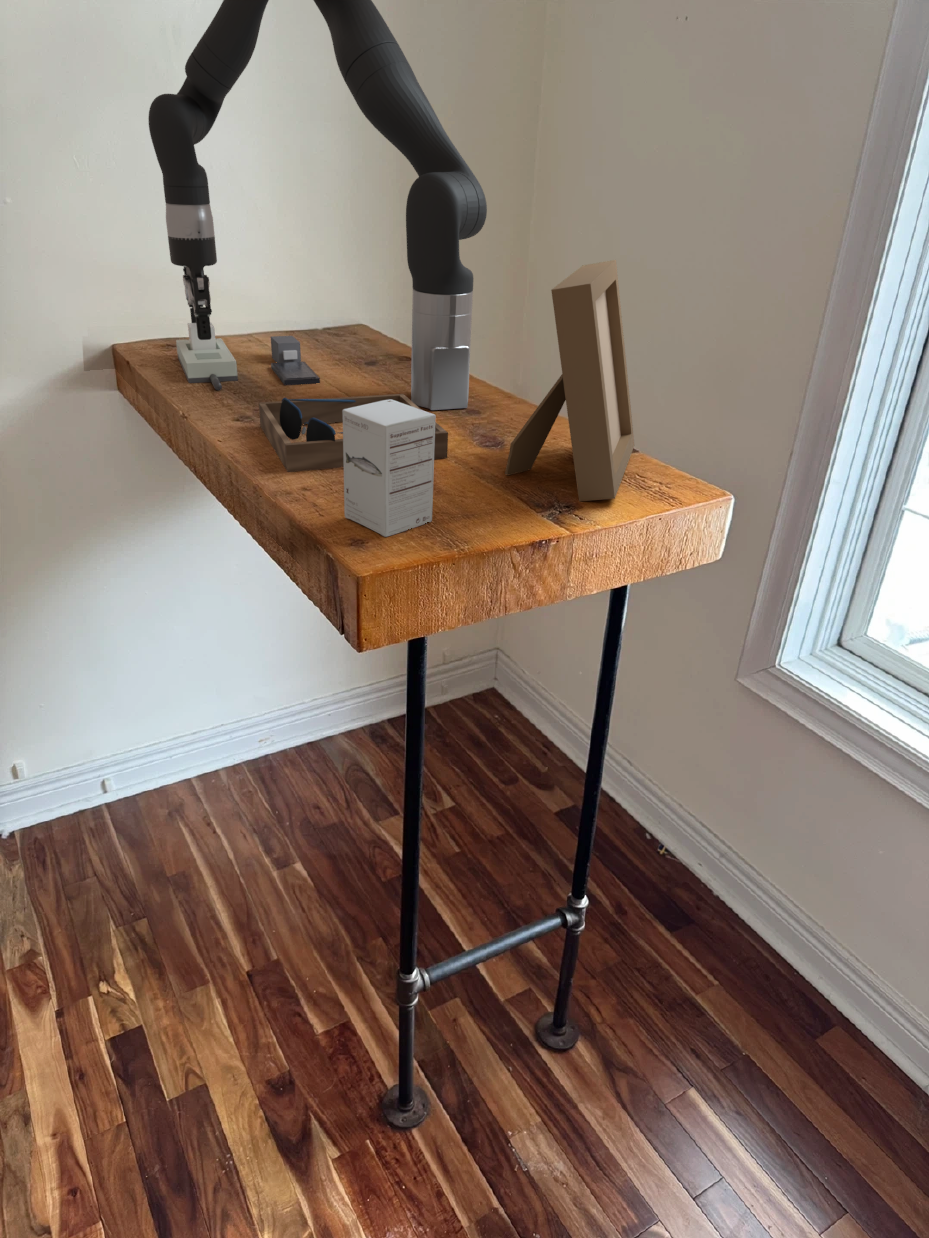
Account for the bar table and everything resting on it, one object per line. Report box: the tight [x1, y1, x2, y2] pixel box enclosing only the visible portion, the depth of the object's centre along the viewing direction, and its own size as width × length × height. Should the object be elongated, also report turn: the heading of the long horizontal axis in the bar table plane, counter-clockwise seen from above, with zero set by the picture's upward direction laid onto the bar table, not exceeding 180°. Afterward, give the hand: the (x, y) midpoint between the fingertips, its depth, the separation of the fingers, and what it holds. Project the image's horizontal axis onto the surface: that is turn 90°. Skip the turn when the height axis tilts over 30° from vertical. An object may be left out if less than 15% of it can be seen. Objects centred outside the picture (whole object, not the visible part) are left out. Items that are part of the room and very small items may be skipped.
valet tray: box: [258, 393, 449, 473], centre depth 123 cm, size 20×22×4 cm
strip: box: [175, 337, 239, 391], centre depth 152 cm, size 24×8×4 cm, turn 21°
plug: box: [270, 335, 302, 363], centre depth 161 cm, size 7×4×4 cm, turn 23°
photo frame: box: [504, 259, 635, 502], centre depth 111 cm, size 15×22×25 cm
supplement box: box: [342, 399, 437, 538], centre depth 97 cm, size 7×7×13 cm
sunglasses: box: [280, 397, 356, 442], centre depth 123 cm, size 17×15×5 cm
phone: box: [270, 361, 321, 386], centre depth 154 cm, size 12×6×1 cm, turn 21°
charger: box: [187, 321, 216, 350], centre depth 156 cm, size 4×4×6 cm
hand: (201, 334), depth 155 cm, fingers open, 8 cm apart
